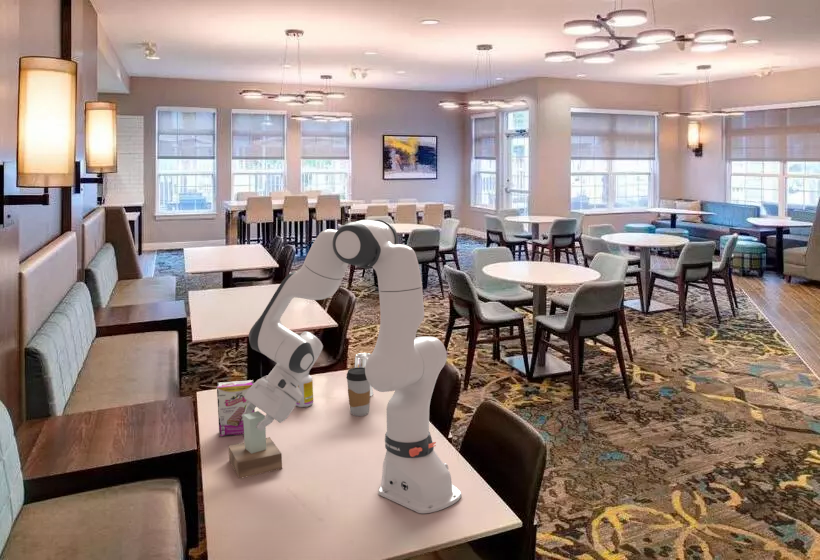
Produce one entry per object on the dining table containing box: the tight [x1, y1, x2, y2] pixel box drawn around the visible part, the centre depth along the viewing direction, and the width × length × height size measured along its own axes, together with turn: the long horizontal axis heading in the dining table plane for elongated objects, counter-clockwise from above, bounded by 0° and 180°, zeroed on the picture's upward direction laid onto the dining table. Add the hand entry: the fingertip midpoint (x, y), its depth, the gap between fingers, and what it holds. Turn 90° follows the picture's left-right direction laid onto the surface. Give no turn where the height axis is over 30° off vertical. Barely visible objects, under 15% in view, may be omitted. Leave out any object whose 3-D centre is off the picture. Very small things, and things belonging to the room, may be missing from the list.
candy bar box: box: [216, 379, 256, 437], centre depth 200 cm, size 11×5×16 cm, turn 104°
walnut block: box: [228, 436, 283, 479], centre depth 180 cm, size 12×12×5 cm
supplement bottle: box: [295, 371, 314, 408], centre depth 224 cm, size 7×7×13 cm
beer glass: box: [354, 352, 374, 397], centre depth 232 cm, size 7×7×15 cm
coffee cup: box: [346, 367, 371, 417], centre depth 216 cm, size 8×8×15 cm
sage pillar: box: [243, 410, 267, 454], centre depth 179 cm, size 4×4×10 cm
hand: (251, 424), depth 178 cm, fingers open, 8 cm apart
